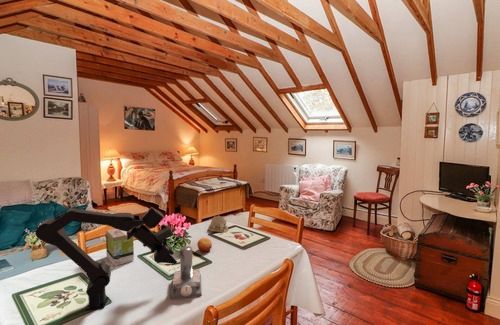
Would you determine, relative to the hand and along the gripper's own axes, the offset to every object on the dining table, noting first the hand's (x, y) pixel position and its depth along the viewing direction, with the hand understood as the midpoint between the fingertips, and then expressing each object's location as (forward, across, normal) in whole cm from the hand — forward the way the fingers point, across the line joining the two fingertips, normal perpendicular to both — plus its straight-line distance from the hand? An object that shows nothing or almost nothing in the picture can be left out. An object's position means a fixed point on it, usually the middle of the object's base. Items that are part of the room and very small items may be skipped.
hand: (174, 258), depth 113 cm
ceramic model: (+36, +63, -18) cm, 75 cm away
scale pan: (+12, 0, +5) cm, 13 cm away
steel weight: (+10, 0, +3) cm, 10 cm away
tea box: (-6, +40, +26) cm, 48 cm away
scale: (+13, -2, +6) cm, 14 cm away
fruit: (+24, +32, -6) cm, 41 cm away
